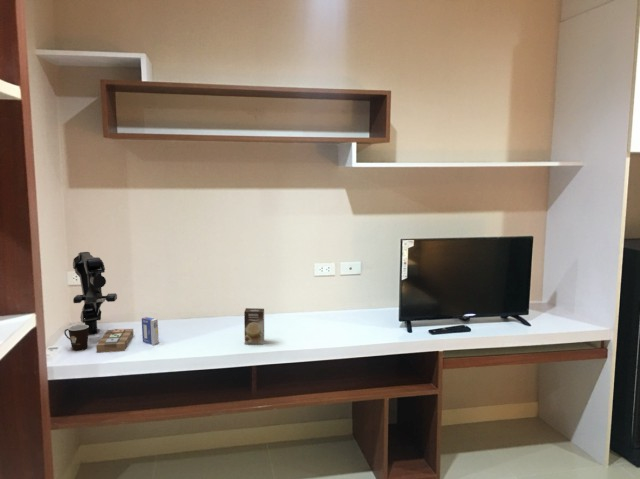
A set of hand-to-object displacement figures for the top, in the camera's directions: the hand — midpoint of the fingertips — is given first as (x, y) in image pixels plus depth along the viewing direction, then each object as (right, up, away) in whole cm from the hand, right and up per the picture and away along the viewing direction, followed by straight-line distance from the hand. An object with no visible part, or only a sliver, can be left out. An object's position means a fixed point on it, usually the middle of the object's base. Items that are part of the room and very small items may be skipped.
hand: (96, 315), depth 249 cm
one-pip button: (+12, -12, -11) cm, 21 cm away
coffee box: (+77, -13, -3) cm, 78 cm away
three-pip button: (+11, -12, -5) cm, 17 cm away
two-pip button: (+10, -11, +2) cm, 15 cm away
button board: (+11, -13, -4) cm, 18 cm away
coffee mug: (-4, -14, -10) cm, 17 cm away
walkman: (+27, -13, -3) cm, 30 cm away
